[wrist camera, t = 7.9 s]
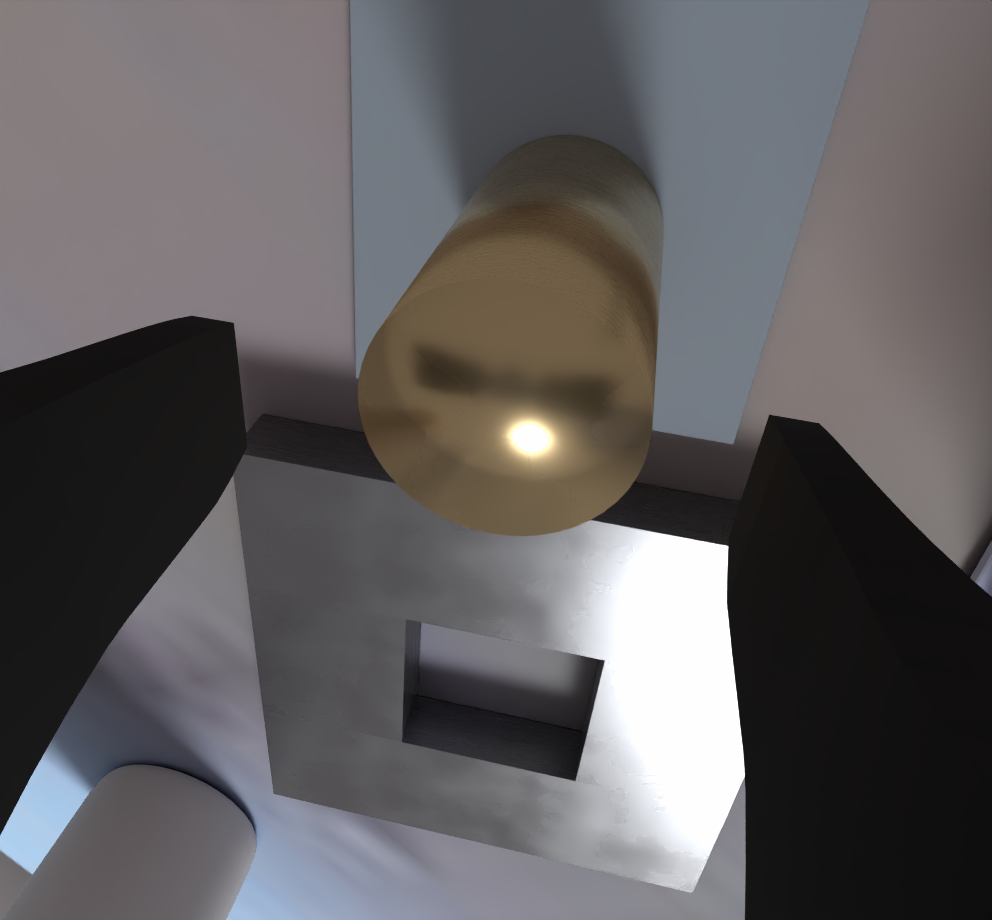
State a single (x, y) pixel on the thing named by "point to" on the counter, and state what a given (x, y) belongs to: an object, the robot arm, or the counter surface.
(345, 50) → the counter surface
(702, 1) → the mat
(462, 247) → the end plug
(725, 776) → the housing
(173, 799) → the pill bottle
